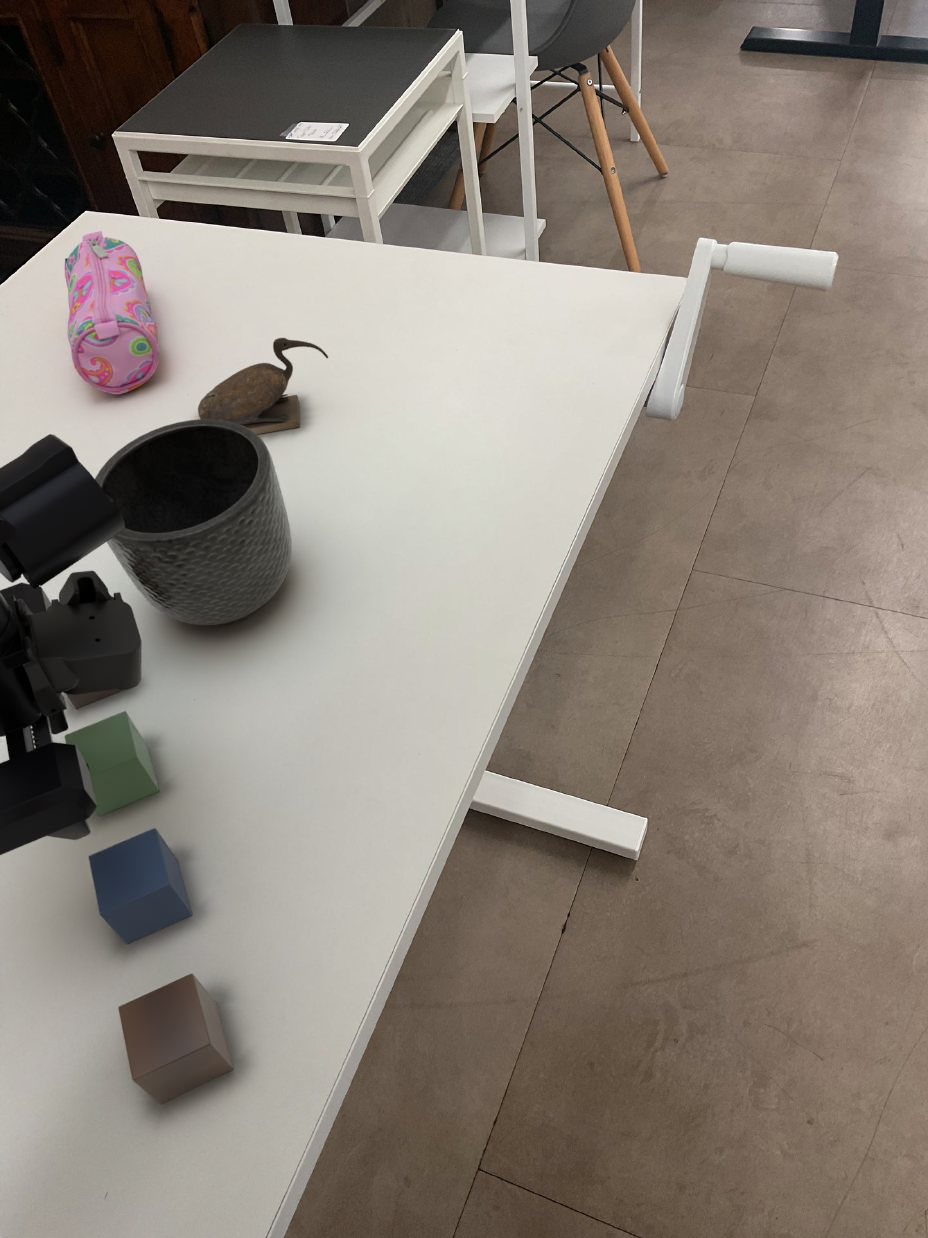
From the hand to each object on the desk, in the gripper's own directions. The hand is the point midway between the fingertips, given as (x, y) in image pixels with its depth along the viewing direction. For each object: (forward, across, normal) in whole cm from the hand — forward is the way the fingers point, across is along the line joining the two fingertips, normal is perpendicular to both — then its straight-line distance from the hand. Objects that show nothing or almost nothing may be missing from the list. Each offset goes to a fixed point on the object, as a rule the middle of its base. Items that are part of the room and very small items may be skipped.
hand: (71, 780), depth 67 cm
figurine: (+6, +39, -24) cm, 46 cm away
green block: (+6, +3, -2) cm, 7 cm away
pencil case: (+6, +61, -14) cm, 63 cm away
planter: (+6, +18, -14) cm, 23 cm away
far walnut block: (+6, +14, -2) cm, 15 cm away
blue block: (+6, -8, -2) cm, 10 cm away
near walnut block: (+6, -18, -2) cm, 19 cm away
